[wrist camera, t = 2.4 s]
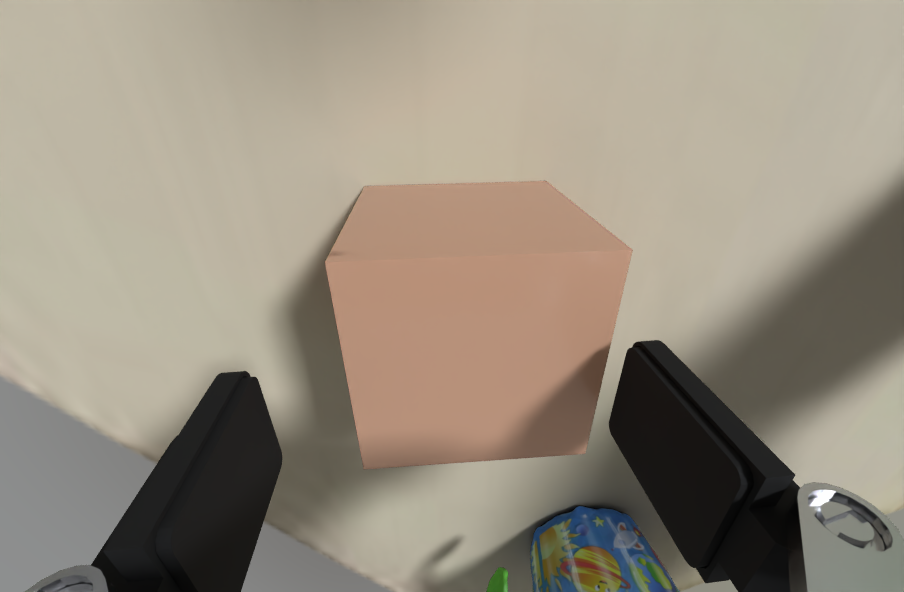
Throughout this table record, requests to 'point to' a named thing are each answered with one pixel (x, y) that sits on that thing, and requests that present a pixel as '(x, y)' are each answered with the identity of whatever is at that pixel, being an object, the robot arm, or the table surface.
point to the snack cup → (591, 556)
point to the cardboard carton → (473, 320)
